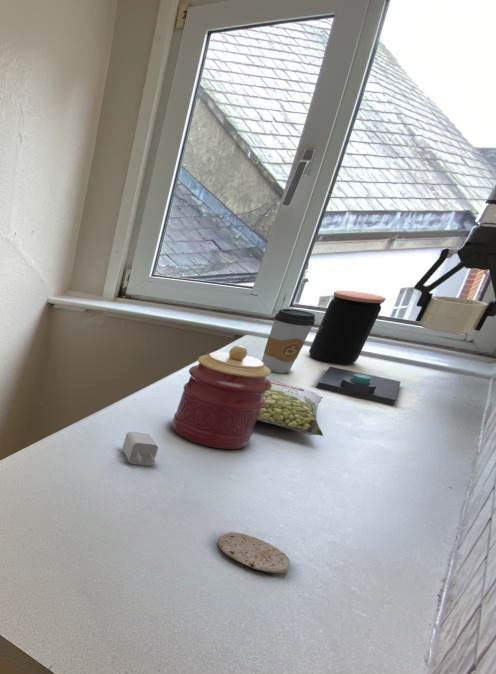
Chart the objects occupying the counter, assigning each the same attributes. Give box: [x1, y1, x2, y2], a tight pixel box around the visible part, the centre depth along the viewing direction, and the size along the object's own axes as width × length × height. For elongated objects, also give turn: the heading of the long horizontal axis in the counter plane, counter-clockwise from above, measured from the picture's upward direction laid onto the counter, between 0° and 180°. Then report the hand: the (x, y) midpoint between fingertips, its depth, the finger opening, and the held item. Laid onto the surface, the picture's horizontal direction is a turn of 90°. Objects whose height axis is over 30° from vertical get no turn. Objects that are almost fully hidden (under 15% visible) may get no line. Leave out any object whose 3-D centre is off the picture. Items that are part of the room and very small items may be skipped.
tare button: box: [351, 374, 371, 385], centre depth 127 cm, size 3×3×2 cm
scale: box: [316, 366, 401, 406], centre depth 132 cm, size 14×19×3 cm
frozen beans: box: [257, 380, 324, 437], centre depth 115 cm, size 21×6×25 cm
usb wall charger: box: [121, 431, 159, 466], centre depth 93 cm, size 4×7×4 cm, turn 169°
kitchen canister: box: [172, 345, 272, 450], centre depth 101 cm, size 13×13×18 cm
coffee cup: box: [261, 308, 316, 374], centre depth 140 cm, size 8×8×15 cm
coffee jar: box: [308, 290, 386, 366], centre depth 149 cm, size 11×11×18 cm
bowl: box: [418, 295, 488, 335], centre depth 130 cm, size 10×10×7 cm
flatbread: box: [217, 531, 290, 574], centre depth 71 cm, size 8×8×1 cm
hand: (446, 324), depth 131 cm, fingers closed on bowl, 10 cm apart
